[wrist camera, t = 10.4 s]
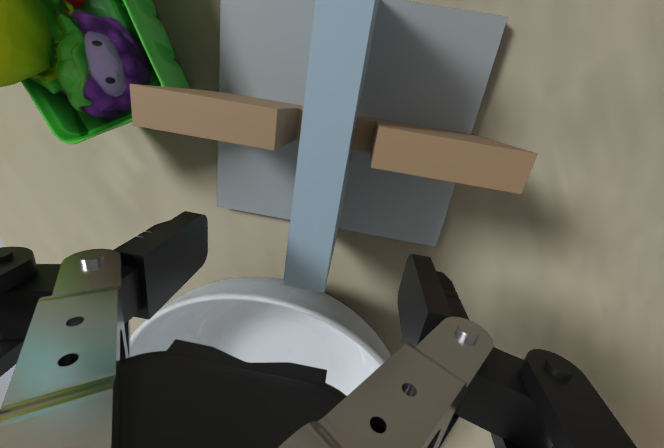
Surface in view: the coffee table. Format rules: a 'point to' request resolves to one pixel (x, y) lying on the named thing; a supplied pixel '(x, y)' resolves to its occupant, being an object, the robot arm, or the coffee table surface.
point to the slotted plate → (327, 135)
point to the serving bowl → (269, 328)
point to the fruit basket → (84, 59)
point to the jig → (372, 119)
